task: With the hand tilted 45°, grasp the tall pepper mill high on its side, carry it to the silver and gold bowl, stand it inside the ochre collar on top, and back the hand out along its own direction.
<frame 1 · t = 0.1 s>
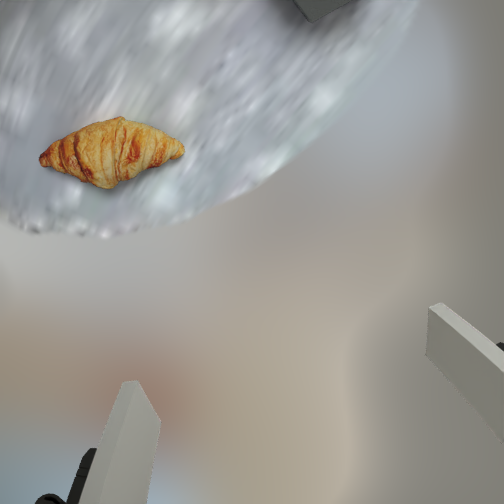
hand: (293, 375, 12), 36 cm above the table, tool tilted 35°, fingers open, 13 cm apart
croissant: (111, 145, 39), on the table
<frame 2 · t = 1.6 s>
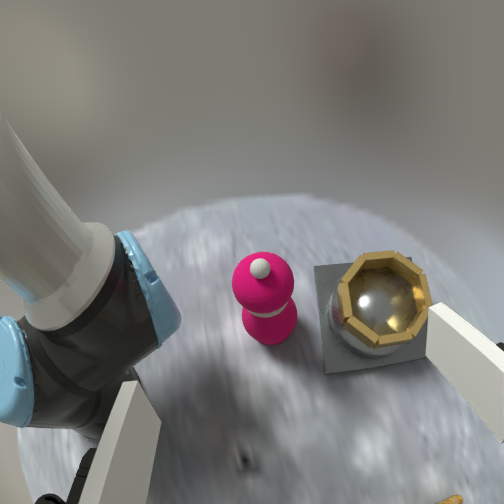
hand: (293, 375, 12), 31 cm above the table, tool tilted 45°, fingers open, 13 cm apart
pepper mill: (271, 324, 45), on the table
silver and gold bowl: (372, 313, 43), on the table
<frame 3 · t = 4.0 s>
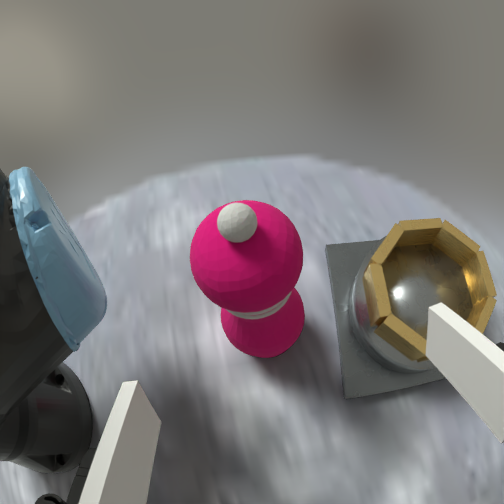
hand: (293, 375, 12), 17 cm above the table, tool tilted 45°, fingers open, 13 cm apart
pepper mill: (266, 327, 31), on the table
silver and gold bowl: (407, 310, 30), on the table
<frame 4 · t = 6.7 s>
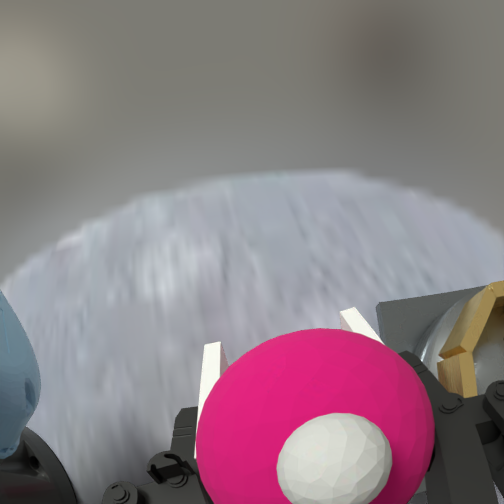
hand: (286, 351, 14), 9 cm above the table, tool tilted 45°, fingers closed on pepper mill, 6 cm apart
pepper mill: (297, 416, 21), on the table, touching gripper
silver and gold bowl: (471, 382, 19), on the table
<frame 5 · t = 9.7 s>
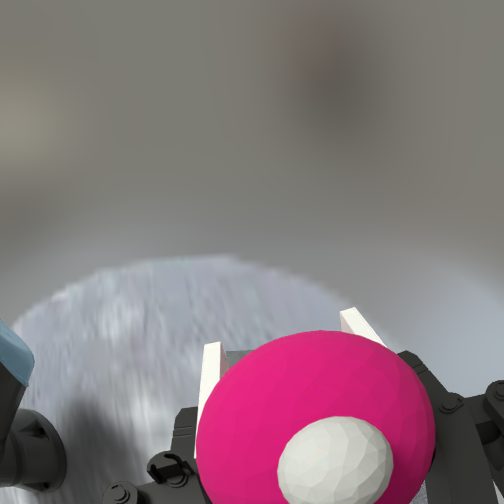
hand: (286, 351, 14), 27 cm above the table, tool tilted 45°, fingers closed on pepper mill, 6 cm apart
pepper mill: (297, 417, 21), point 17 cm above the table, touching gripper
when the fingers open (15 cm above the table, at t = 12.6 s): pepper mill stays where it is, resting on silver and gold bowl.
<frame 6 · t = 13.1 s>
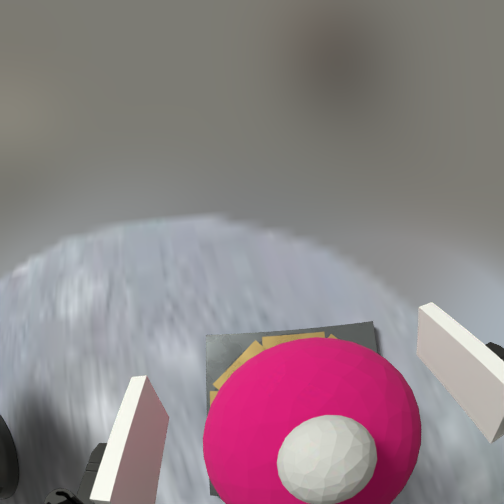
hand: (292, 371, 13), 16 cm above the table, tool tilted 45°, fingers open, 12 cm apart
pepper mill: (297, 417, 21), point 5 cm above the table, touching silver and gold bowl
silver and gold bowl: (295, 414, 26), on the table
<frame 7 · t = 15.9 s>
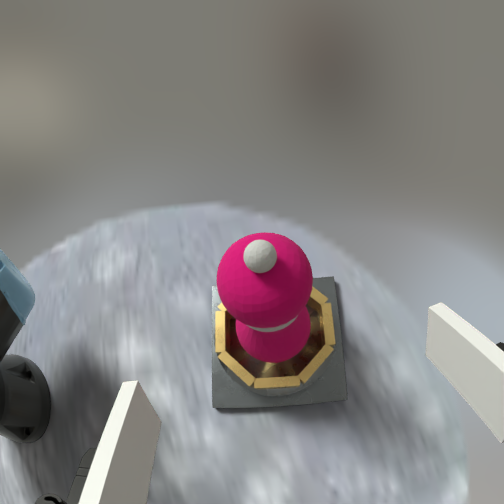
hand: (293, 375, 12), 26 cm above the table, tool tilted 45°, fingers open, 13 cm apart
pepper mill: (275, 335, 34), point 5 cm above the table, touching silver and gold bowl
silver and gold bowl: (276, 343, 38), on the table
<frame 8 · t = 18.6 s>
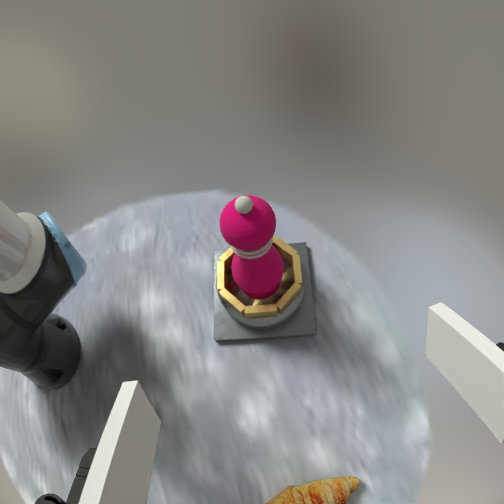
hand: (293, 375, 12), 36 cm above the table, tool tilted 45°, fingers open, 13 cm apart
pepper mill: (260, 280, 48), point 5 cm above the table, touching silver and gold bowl
silver and gold bowl: (263, 291, 52), on the table
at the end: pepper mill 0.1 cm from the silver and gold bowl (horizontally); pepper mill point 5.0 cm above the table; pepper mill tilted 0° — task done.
